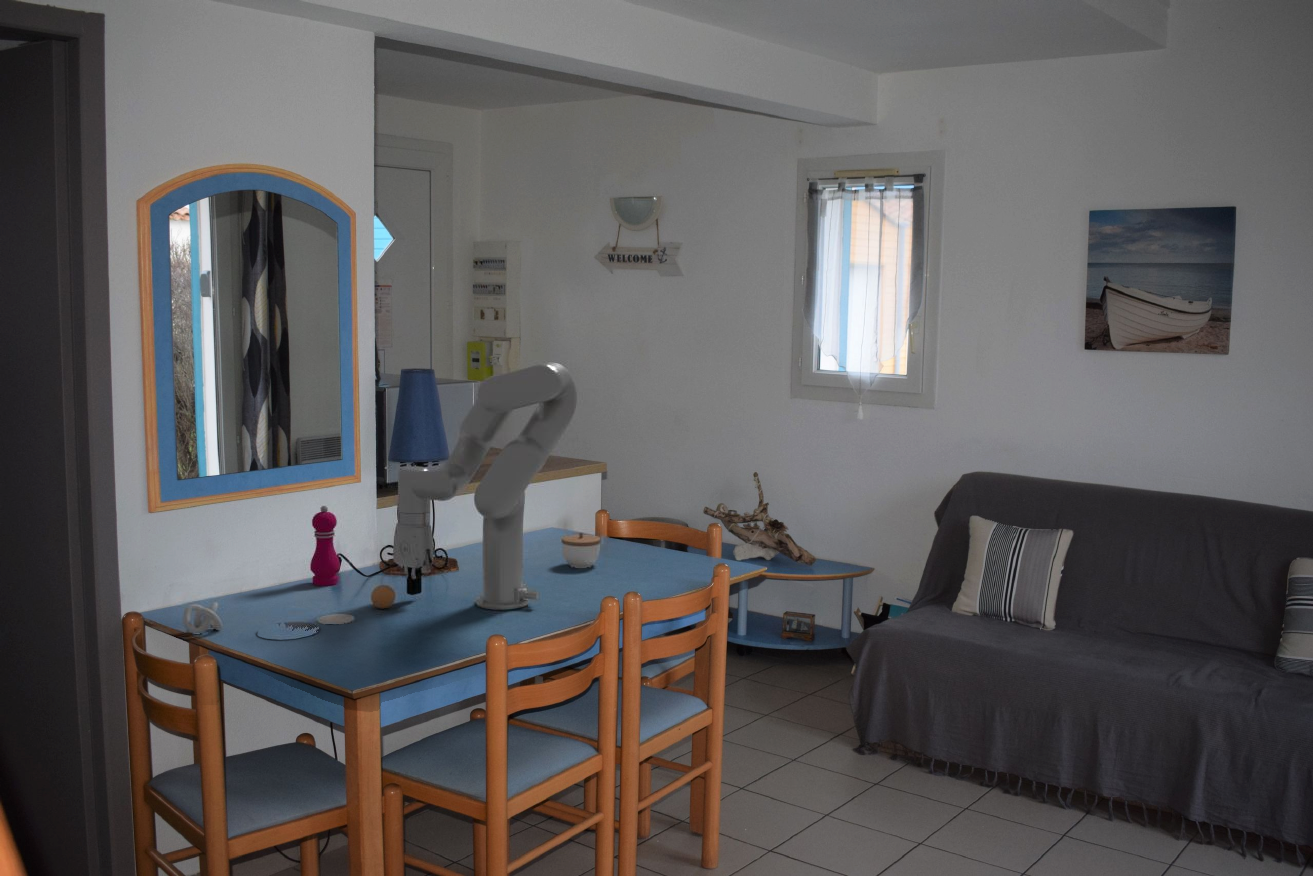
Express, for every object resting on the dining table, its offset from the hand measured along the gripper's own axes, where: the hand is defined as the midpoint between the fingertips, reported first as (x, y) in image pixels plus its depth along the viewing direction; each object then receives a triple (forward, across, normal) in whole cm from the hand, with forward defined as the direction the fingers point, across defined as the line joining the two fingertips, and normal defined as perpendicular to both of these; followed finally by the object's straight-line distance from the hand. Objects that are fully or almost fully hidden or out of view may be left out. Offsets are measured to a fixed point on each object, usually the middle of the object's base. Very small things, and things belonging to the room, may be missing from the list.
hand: (414, 593), depth 261 cm
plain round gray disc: (+2, 0, -22) cm, 22 cm away
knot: (+2, -14, -46) cm, 48 cm away
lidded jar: (+2, +5, +54) cm, 54 cm away
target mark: (+2, 0, -34) cm, 34 cm away
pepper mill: (+2, -30, -4) cm, 30 cm away
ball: (-1, 0, -9) cm, 9 cm away
